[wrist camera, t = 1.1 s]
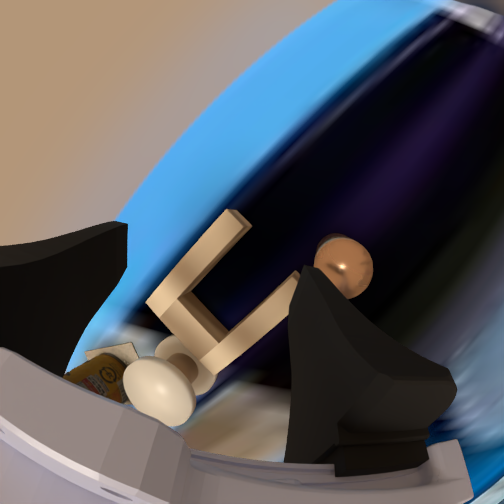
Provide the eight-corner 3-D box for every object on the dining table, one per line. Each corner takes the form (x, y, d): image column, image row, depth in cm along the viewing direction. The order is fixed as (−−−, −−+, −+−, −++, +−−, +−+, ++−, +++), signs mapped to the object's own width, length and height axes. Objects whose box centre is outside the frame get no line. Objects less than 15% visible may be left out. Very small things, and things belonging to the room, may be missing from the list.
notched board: (236, 210, 22) (226, 209, 19) (311, 286, 21) (310, 294, 18) (161, 294, 24) (145, 302, 22) (224, 362, 23) (214, 375, 21)
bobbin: (223, 345, 23) (194, 380, 17) (213, 398, 24) (187, 436, 18) (161, 324, 24) (122, 349, 19) (158, 376, 25) (124, 406, 20)
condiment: (85, 351, 28) (10, 391, 16) (132, 341, 26) (44, 395, 14) (112, 403, 28) (48, 454, 16) (162, 402, 26) (94, 471, 14)
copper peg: (360, 238, 20) (379, 246, 13) (350, 277, 20) (363, 305, 13) (320, 229, 20) (320, 232, 14) (311, 268, 21) (307, 292, 14)
